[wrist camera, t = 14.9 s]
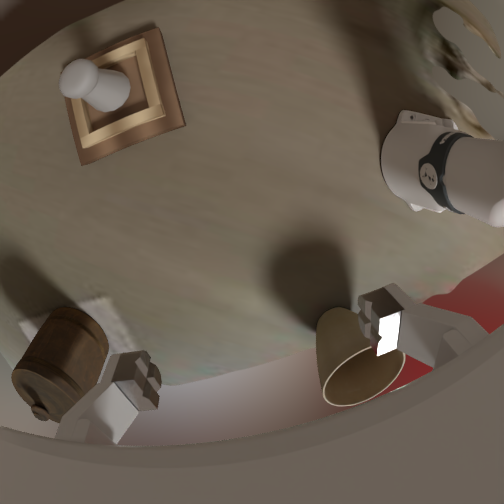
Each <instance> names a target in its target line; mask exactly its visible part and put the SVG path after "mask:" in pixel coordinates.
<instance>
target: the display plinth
mask: <svg viewBox="0 0 504 504" xmlns="http://www.w3.org/2000/svg"><path fill="white" fill-rule="evenodd" d="M85 59H86V60H91V61H92V62H93V63H94V64H95V65H96V66H97V67H98V68H99V69H107V70H115V71H118V72H122V73H123V74H124V75H125V76H126V77H127V78H128V79H129V82H130V87H131V89H130V93H129V97H128V98H127V100H126V101H125V103H124V104H123V105H122V106H121V107H119V108H118V109H116V110H114V111H109V112H102V111H99V110H96V109H95V108H94V107H92V106H91V105H90V104H89V103H87V102H86V101H85V100H83V99H82V98H78V99H73V98H68V97H66V96H65V101H66V106H67V111H68V116H69V120H70V125H71V129H72V133H73V137H74V141H75V145H76V148H77V152H78V156H79V159H80V162H81V166H83V165H87V164H90V163H92V162H95V161H97V160H99V159H101V158H103V157H106V156H108V155H110V154H112V153H115V152H117V151H119V150H122V149H124V148H126V147H129V146H131V145H134V144H136V143H139V142H142V141H144V140H147V139H149V138H152V137H155V136H158V135H160V134H163V133H166V132H169V131H172V130H175V129H178V128H181V127H184V126H186V123H185V120H184V116H183V112H182V109H181V105H180V101H179V98H178V94H177V90H176V87H175V83H174V79H173V75H172V71H171V68H170V64H169V60H168V56H167V52H166V48H165V44H164V40H163V36H162V33H161V31H160V29H159V27H158V28H155V29H152V30H149V31H146V32H143V33H141V34H138V35H136V36H133V37H130V38H128V39H126V40H123V41H121V42H119V43H116V44H114V45H112V46H110V47H107V48H105V49H103V50H101V51H99V52H97V53H95V54H93V55H91V56H89V57H87V58H85ZM62 72H63V71H62ZM62 72H61V74H62Z"/></svg>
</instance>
